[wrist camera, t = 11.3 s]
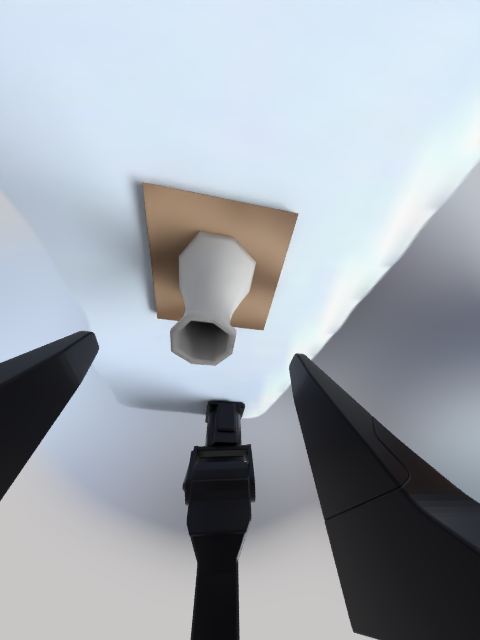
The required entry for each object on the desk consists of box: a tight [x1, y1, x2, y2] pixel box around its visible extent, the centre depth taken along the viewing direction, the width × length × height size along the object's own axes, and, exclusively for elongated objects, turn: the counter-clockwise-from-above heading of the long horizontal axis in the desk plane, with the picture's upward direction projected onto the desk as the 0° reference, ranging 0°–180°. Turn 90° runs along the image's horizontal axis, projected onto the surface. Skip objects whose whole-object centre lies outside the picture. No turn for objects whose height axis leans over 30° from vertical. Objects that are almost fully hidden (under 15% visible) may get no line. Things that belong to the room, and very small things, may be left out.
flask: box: [170, 231, 256, 366], centre depth 13 cm, size 7×7×10 cm
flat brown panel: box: [143, 183, 298, 330], centre depth 18 cm, size 12×12×2 cm
